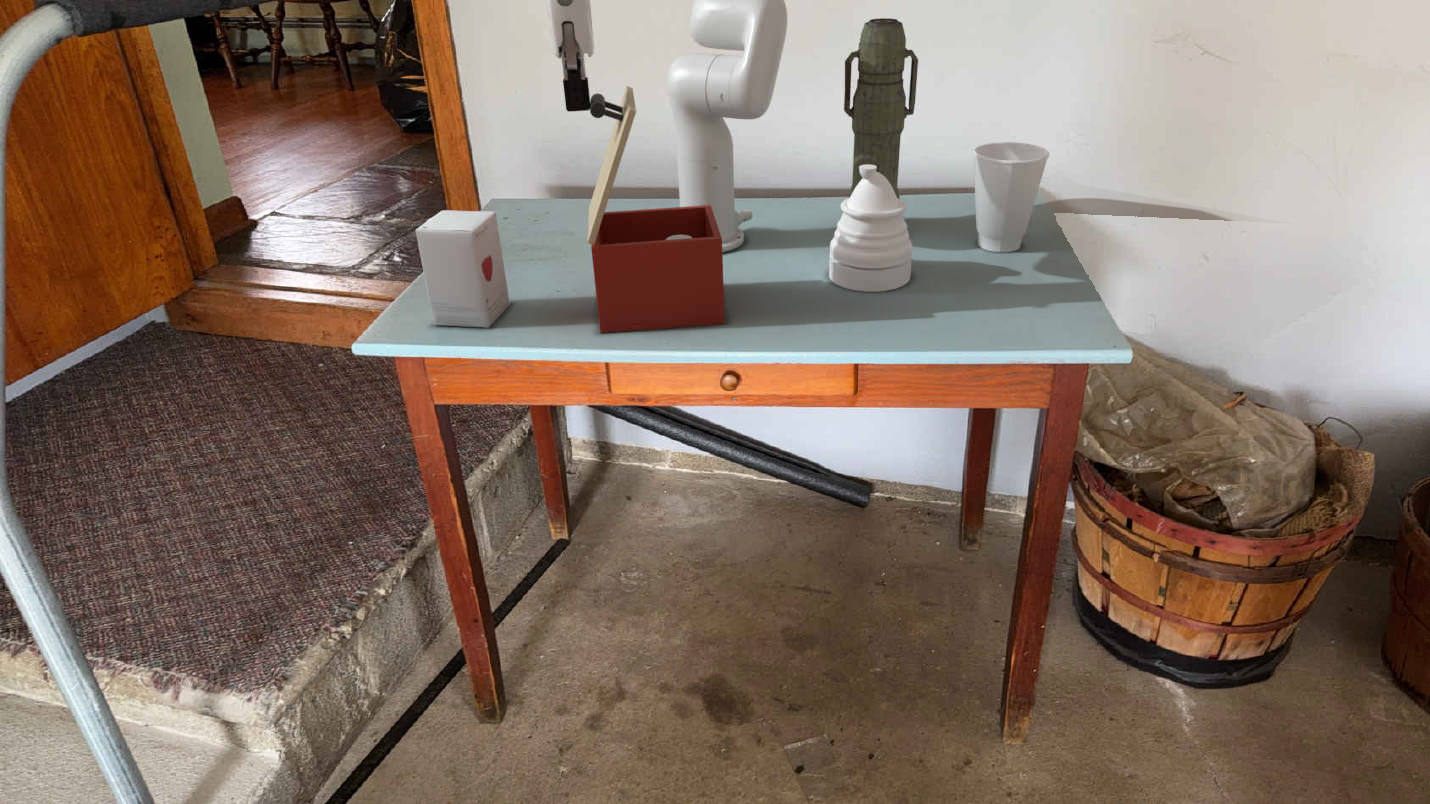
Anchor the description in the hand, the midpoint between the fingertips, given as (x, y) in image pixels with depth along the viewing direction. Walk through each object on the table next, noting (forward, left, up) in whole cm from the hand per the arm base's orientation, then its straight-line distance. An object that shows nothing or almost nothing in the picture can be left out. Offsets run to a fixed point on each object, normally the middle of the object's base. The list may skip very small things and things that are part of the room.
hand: (578, 109), depth 124 cm
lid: (-3, +3, -8) cm, 9 cm away
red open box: (-7, +6, -30) cm, 31 cm away
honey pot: (-37, +23, -30) cm, 53 cm away
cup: (-62, +32, -30) cm, 76 cm away
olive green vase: (-56, +10, -30) cm, 64 cm away
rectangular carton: (+13, -14, -30) cm, 36 cm away
